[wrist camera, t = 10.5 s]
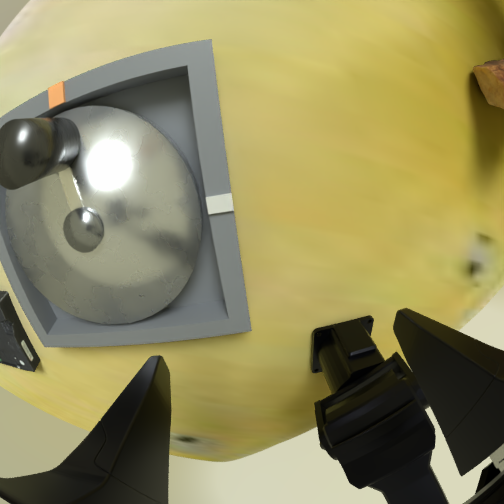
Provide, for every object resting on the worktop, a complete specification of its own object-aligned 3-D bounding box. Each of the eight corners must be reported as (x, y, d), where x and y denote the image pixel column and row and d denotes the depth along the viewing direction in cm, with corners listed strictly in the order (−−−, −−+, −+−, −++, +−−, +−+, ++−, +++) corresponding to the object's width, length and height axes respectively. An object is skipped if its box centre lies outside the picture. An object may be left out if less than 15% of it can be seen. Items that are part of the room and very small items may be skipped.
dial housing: (247, 307, 23) (252, 333, 20) (55, 328, 22) (43, 348, 19) (212, 52, 14) (211, 37, 11) (-7, 135, 13) (-31, 139, 10)
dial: (227, 286, 21) (234, 351, 15) (67, 321, 21) (38, 374, 14) (170, 74, 14) (143, 42, 8) (-1, 161, 14) (-57, 181, 7)
